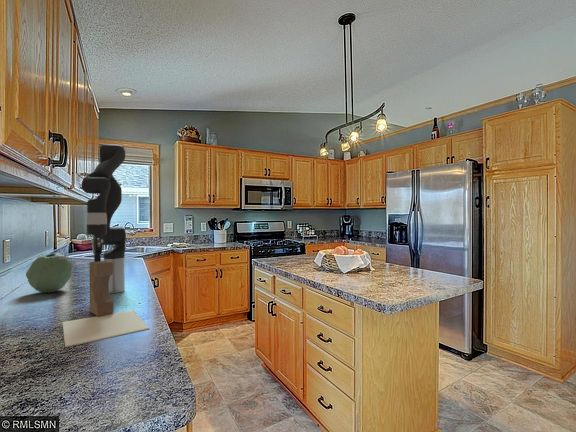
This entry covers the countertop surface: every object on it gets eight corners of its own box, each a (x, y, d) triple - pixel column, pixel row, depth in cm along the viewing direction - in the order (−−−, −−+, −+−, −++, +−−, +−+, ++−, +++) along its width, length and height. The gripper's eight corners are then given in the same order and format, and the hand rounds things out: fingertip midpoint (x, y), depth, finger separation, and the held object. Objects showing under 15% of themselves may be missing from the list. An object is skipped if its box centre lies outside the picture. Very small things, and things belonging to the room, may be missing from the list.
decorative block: (113, 313, 118) (113, 262, 119) (97, 317, 114) (96, 263, 115) (105, 309, 126) (105, 260, 127) (89, 312, 122) (89, 262, 123)
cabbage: (25, 292, 156) (25, 253, 156) (70, 286, 168) (70, 250, 168) (26, 298, 144) (26, 256, 144) (74, 291, 156) (74, 252, 157)
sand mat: (62, 323, 109) (62, 322, 109) (133, 310, 123) (133, 309, 123) (65, 347, 89) (65, 346, 89) (149, 329, 103) (149, 327, 103)
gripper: (85, 223, 134) (85, 263, 134) (88, 223, 124) (88, 266, 124) (104, 223, 139) (105, 261, 139) (109, 223, 129) (109, 264, 128)
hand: (97, 263), depth 131 cm, fingers closed
